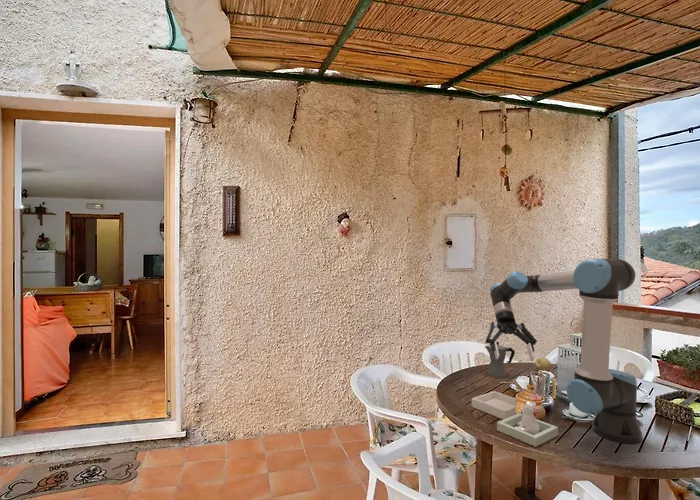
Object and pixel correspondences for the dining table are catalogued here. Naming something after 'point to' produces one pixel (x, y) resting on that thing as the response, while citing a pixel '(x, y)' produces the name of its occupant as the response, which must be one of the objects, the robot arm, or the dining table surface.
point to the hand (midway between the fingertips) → (515, 358)
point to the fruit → (543, 364)
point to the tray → (495, 404)
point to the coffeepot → (498, 361)
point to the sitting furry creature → (528, 419)
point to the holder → (535, 440)
